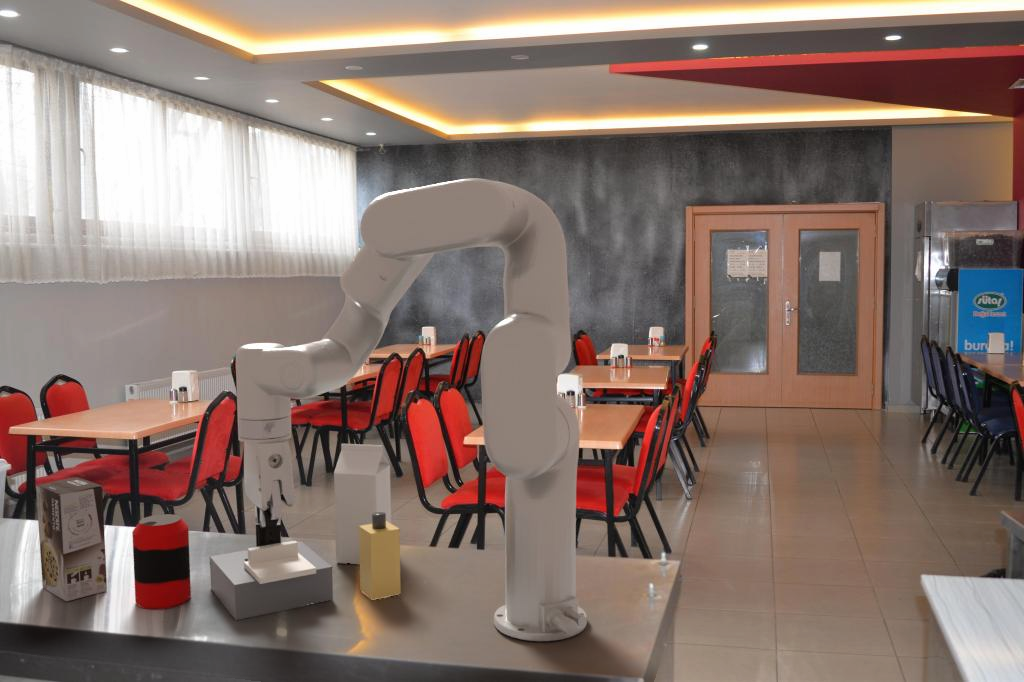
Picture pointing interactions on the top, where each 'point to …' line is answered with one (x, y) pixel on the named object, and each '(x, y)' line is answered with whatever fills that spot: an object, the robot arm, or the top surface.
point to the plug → (379, 557)
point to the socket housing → (267, 585)
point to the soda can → (161, 562)
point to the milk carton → (359, 495)
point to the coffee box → (72, 538)
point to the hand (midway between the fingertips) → (268, 550)
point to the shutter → (277, 562)
